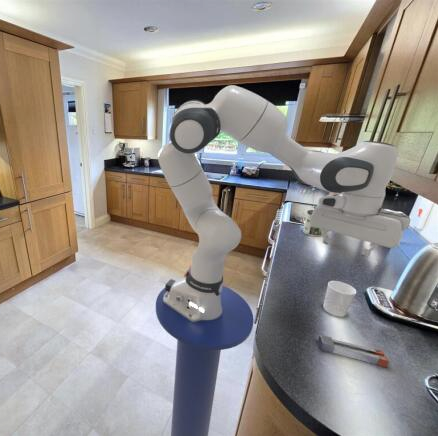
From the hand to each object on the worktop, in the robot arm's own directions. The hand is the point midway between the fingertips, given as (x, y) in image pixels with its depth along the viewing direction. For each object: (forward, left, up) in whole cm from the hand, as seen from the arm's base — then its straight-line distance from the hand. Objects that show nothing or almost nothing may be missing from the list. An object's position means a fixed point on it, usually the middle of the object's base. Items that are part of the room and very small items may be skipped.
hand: (344, 249), depth 70 cm
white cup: (+4, +13, -29) cm, 32 cm away
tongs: (+8, -7, -29) cm, 31 cm away
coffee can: (-8, +93, -29) cm, 98 cm away
